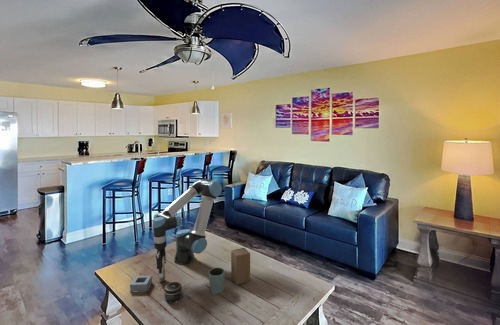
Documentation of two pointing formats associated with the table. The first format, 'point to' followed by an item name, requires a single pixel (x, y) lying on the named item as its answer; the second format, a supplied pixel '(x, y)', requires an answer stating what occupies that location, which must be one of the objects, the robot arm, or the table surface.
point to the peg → (163, 270)
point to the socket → (140, 283)
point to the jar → (173, 291)
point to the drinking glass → (216, 280)
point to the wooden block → (240, 266)
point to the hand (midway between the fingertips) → (162, 275)
